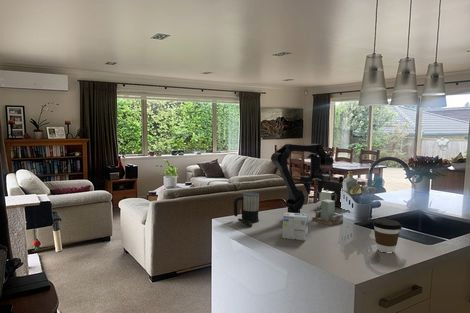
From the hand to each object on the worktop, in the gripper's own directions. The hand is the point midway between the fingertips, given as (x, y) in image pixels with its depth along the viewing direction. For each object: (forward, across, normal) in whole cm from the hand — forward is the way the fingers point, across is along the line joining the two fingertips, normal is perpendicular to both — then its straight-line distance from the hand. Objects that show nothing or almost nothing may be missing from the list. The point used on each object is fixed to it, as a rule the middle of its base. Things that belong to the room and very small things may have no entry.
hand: (314, 193), depth 189 cm
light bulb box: (+13, -36, -22) cm, 44 cm away
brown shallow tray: (+13, -2, -12) cm, 17 cm away
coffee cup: (+13, -16, -54) cm, 58 cm away
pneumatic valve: (+13, +20, +8) cm, 25 cm away
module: (+12, -2, -11) cm, 17 cm away
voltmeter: (+13, +36, +10) cm, 40 cm away
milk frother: (+13, -40, +8) cm, 43 cm away
